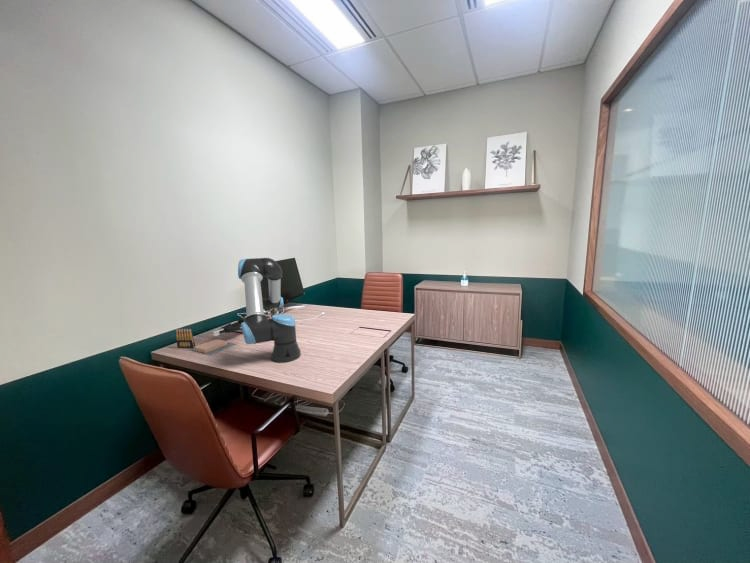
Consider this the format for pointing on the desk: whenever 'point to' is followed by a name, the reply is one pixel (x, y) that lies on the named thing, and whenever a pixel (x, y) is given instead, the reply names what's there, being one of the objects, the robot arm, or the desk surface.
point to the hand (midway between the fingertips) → (213, 334)
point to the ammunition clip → (184, 339)
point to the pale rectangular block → (210, 345)
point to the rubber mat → (216, 349)
